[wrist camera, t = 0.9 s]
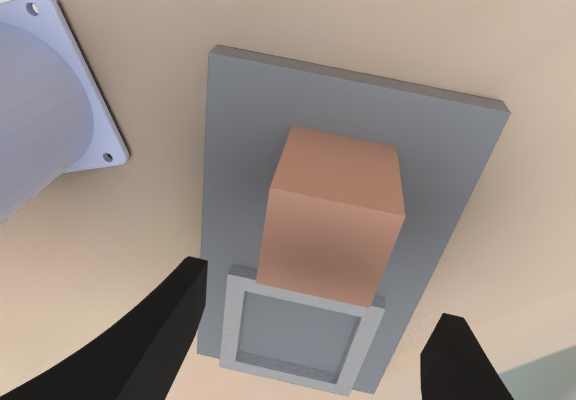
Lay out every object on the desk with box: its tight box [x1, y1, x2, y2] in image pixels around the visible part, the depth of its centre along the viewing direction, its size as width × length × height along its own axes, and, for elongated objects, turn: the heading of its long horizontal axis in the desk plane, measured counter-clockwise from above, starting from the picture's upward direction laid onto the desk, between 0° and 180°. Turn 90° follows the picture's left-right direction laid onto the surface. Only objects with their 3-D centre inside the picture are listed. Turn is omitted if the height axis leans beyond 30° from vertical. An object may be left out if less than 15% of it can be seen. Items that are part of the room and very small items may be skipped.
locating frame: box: [219, 264, 386, 397], centre depth 25 cm, size 8×8×1 cm
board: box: [197, 45, 511, 394], centre depth 23 cm, size 20×12×1 cm, turn 171°
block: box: [256, 126, 406, 308], centre depth 17 cm, size 4×4×5 cm
